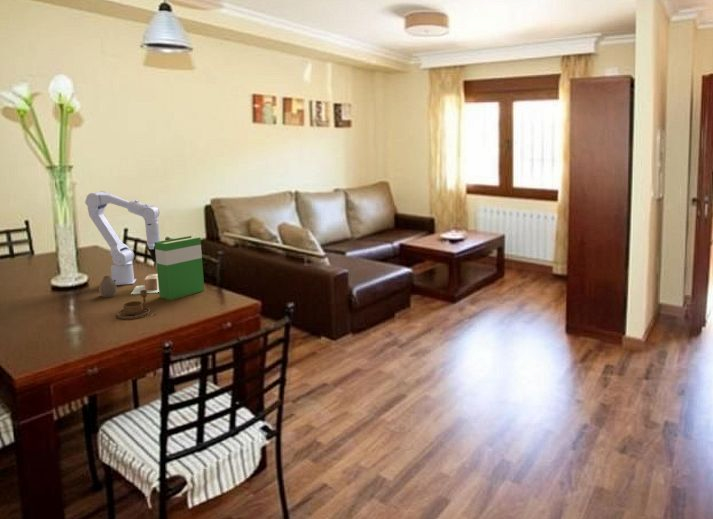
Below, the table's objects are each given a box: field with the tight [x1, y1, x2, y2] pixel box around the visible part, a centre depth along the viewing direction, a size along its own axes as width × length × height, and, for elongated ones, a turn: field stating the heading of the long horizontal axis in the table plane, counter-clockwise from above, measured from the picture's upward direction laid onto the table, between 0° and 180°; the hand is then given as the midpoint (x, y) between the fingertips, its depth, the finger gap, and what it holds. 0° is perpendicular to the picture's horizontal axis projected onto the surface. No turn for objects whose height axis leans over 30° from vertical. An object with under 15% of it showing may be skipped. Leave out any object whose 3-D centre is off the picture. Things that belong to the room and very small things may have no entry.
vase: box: [98, 275, 118, 298], centre depth 236 cm, size 7×7×9 cm
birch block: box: [144, 273, 159, 290], centre depth 248 cm, size 5×5×10 cm
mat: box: [130, 284, 159, 295], centre depth 246 cm, size 16×13×1 cm
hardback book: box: [155, 235, 205, 301], centre depth 236 cm, size 18×7×24 cm, turn 142°
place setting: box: [116, 290, 157, 320], centre depth 215 cm, size 18×20×6 cm
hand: (155, 261), depth 255 cm, fingers closed
